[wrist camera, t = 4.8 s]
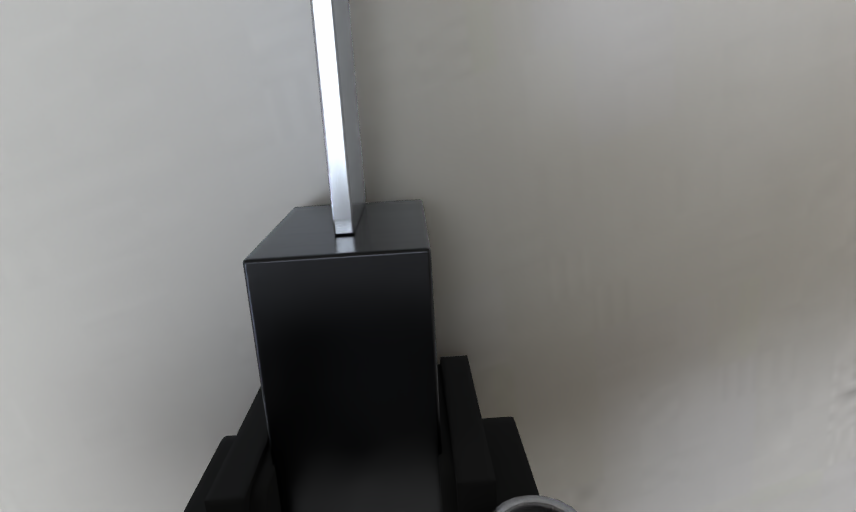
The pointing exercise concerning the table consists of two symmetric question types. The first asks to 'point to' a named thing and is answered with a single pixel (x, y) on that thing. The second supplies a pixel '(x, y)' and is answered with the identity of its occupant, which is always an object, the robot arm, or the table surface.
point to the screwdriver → (347, 325)
